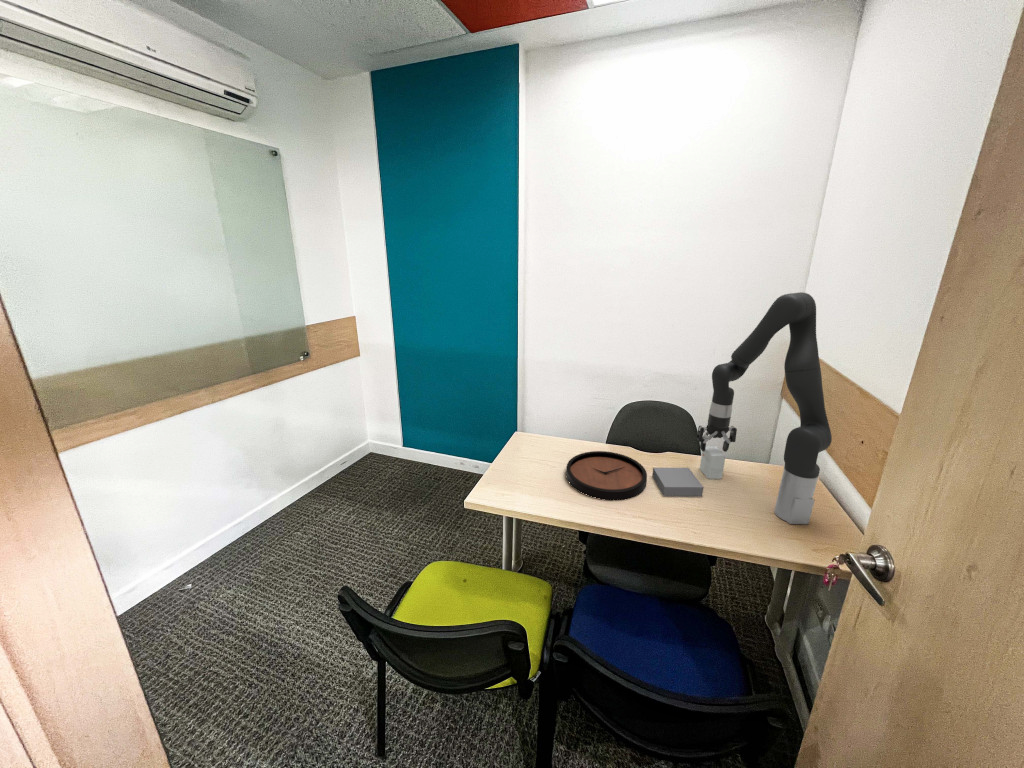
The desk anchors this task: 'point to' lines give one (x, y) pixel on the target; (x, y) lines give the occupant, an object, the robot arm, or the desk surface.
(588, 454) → the wall clock
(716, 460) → the small box
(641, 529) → the desk surface
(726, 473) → the desk surface
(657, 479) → the base block
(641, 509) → the desk surface
